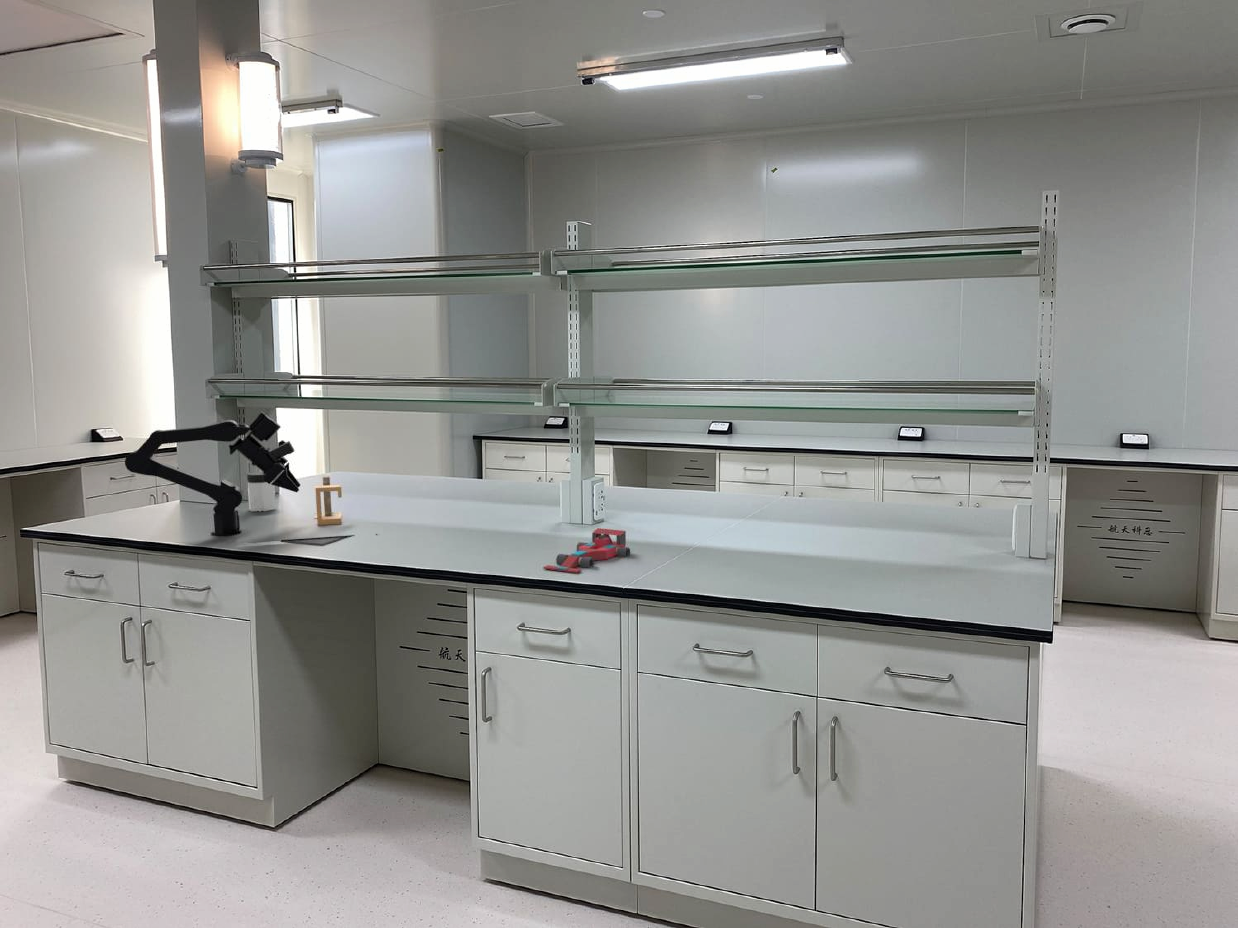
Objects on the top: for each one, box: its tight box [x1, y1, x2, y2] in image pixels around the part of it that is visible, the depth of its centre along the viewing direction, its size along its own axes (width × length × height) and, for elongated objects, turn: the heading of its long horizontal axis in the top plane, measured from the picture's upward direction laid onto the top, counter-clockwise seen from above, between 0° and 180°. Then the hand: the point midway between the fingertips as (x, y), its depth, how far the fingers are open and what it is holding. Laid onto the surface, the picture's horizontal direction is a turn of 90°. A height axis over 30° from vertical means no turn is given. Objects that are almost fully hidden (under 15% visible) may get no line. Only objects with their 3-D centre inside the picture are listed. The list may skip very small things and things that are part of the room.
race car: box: [542, 527, 631, 574], centre depth 240 cm, size 14×6×25 cm
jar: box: [246, 471, 277, 513], centre depth 317 cm, size 9×8×12 cm
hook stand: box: [313, 476, 343, 520], centre depth 294 cm, size 8×20×13 cm, turn 16°
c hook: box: [315, 484, 343, 526], centre depth 287 cm, size 7×4×11 cm, turn 106°
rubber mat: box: [280, 534, 355, 546], centre depth 271 cm, size 14×14×1 cm
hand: (298, 488), depth 284 cm, fingers open, 9 cm apart
